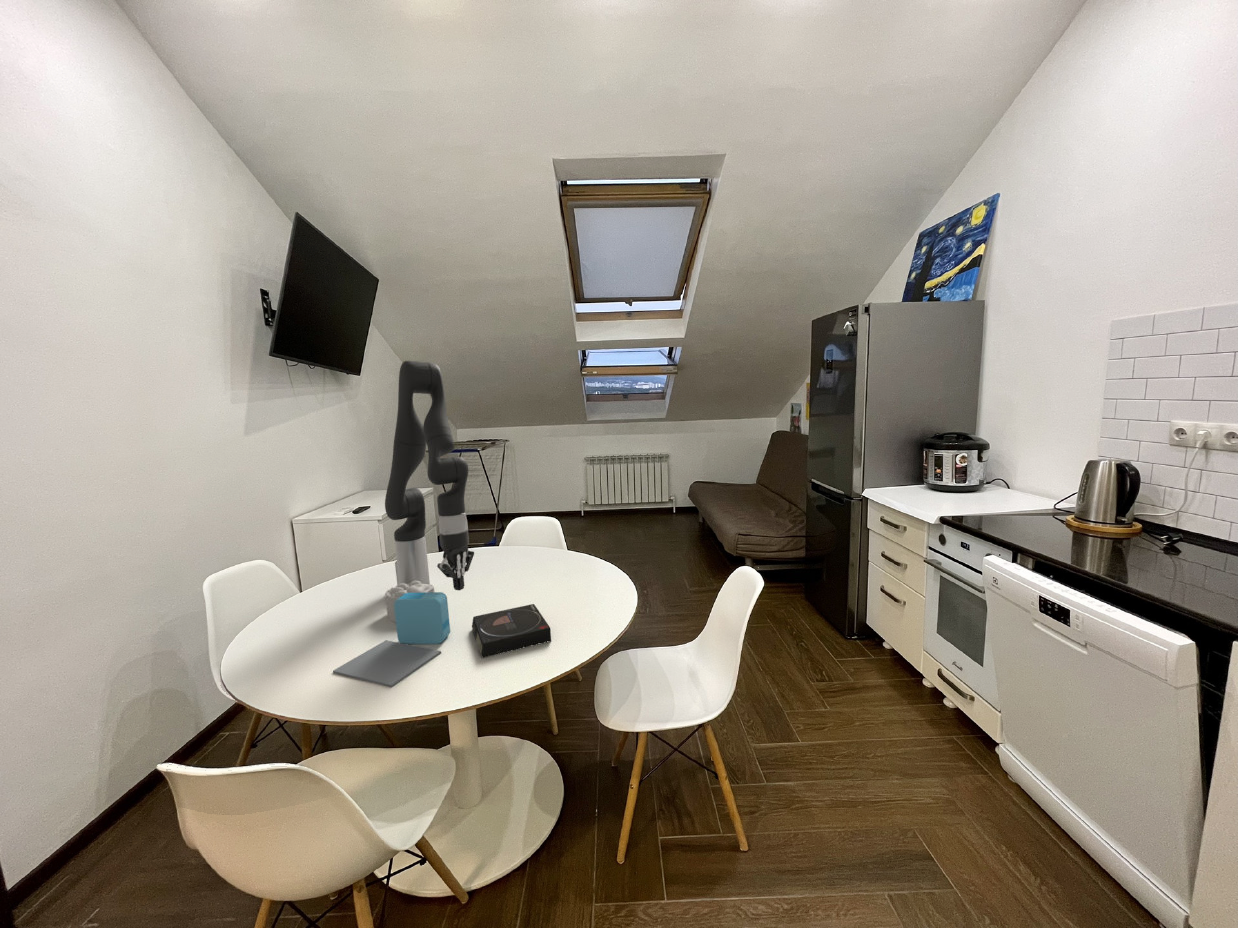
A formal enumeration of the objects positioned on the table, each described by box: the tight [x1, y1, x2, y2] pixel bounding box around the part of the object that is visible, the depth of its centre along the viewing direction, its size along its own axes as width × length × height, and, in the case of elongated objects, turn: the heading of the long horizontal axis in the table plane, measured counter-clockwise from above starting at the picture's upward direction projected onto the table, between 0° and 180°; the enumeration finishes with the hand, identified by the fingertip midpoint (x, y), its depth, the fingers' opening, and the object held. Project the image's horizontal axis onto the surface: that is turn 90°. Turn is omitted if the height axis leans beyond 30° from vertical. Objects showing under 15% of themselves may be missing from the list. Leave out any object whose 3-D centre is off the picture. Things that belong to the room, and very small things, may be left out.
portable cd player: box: [471, 603, 552, 658], centre depth 127 cm, size 16×17×4 cm
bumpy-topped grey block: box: [384, 581, 435, 623], centre depth 142 cm, size 10×13×9 cm
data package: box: [394, 591, 451, 645], centre depth 126 cm, size 12×4×12 cm, turn 86°
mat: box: [332, 639, 442, 688], centre depth 116 cm, size 18×15×1 cm
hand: (459, 589), depth 138 cm, fingers closed
